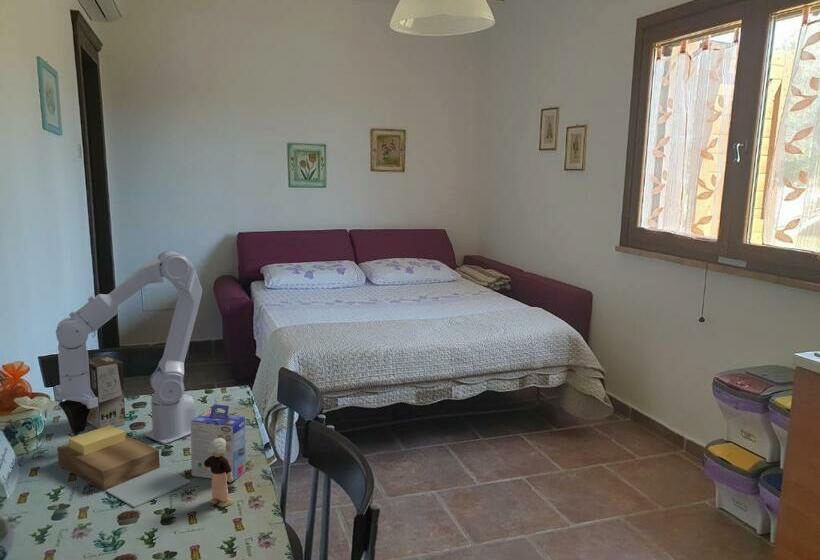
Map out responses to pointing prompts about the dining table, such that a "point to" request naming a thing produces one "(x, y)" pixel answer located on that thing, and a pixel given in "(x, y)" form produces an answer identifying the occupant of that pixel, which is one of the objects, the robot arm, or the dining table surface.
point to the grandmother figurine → (219, 472)
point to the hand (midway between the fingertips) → (78, 431)
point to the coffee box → (107, 392)
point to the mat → (147, 487)
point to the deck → (110, 462)
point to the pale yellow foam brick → (97, 439)
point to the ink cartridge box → (209, 430)
